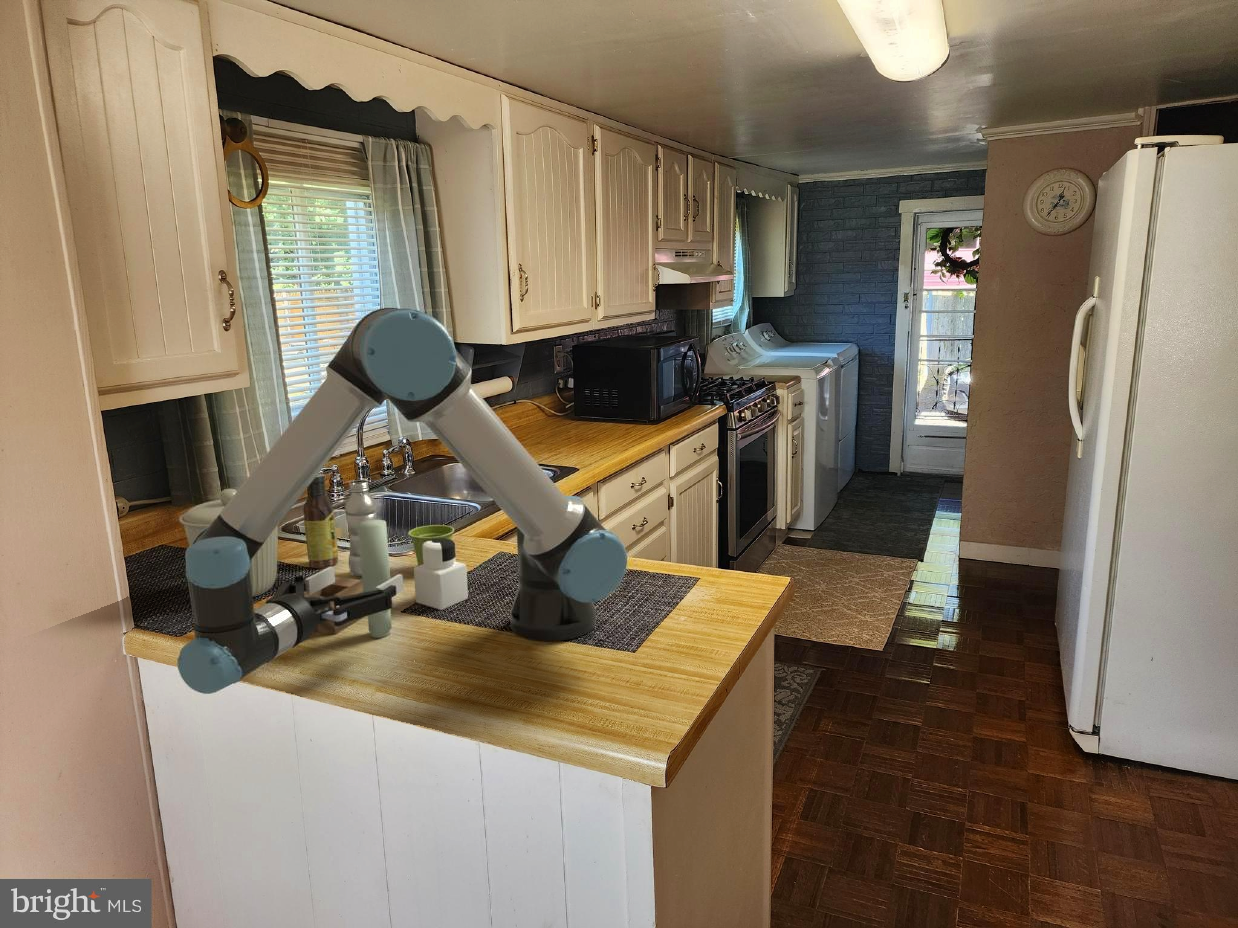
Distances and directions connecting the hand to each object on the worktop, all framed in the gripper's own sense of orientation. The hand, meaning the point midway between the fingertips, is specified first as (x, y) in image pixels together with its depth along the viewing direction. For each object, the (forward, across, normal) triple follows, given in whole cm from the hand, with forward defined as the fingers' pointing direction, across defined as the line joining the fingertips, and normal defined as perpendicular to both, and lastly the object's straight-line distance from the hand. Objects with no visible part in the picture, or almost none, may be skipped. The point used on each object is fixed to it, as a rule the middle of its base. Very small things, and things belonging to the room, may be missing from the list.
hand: (366, 577), depth 143 cm
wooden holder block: (+6, -13, -11) cm, 18 cm away
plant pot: (+34, -8, -11) cm, 37 cm away
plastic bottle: (+27, -20, -11) cm, 36 cm away
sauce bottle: (+30, -33, -11) cm, 46 cm away
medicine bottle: (+19, +3, -11) cm, 22 cm away
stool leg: (+2, +1, -11) cm, 11 cm away
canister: (+11, -38, -11) cm, 41 cm away
